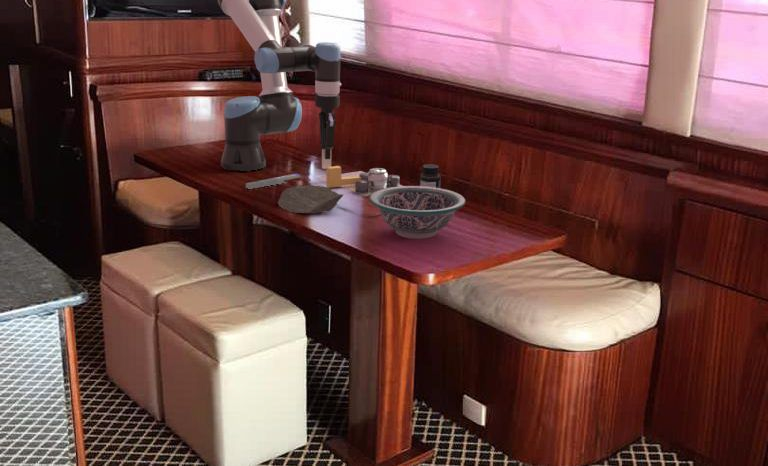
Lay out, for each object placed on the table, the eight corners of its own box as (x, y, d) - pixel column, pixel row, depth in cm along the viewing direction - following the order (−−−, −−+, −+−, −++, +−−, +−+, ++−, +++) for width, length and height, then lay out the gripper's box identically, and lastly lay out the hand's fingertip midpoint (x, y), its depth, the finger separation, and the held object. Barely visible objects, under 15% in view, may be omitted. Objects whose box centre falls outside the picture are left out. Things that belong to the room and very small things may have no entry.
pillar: (245, 183, 261) (296, 173, 275) (245, 190, 262) (296, 180, 275) (249, 184, 260) (300, 174, 273) (250, 191, 261) (300, 181, 274)
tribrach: (317, 180, 274) (317, 158, 271) (360, 173, 283) (361, 152, 281) (364, 199, 254) (364, 175, 252) (408, 191, 264) (409, 168, 261)
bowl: (424, 255, 207) (425, 217, 204) (349, 232, 222) (349, 197, 219) (482, 232, 225) (484, 198, 222) (409, 213, 241) (410, 180, 238)
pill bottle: (428, 198, 256) (430, 162, 253) (444, 202, 252) (445, 166, 249) (414, 201, 252) (416, 165, 249) (430, 206, 248) (431, 169, 245)
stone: (264, 199, 245) (302, 176, 253) (268, 212, 247) (306, 188, 256) (309, 214, 232) (347, 189, 241) (312, 227, 234) (350, 202, 243)
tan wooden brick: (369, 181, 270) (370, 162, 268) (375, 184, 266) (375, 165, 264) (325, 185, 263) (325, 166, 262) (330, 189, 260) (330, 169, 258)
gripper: (344, 97, 257) (342, 172, 264) (334, 90, 269) (333, 162, 276) (320, 98, 255) (319, 173, 262) (311, 90, 266) (310, 163, 274)
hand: (326, 168), depth 269 cm, fingers closed
